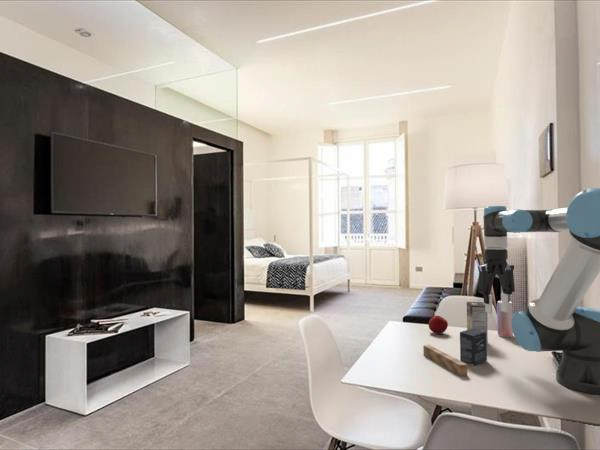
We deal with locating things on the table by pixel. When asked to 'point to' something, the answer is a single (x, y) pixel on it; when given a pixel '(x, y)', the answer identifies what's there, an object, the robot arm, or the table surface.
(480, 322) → the coffee box
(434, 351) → the board
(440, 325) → the apple
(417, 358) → the table surface
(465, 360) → the box
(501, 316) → the beverage can
